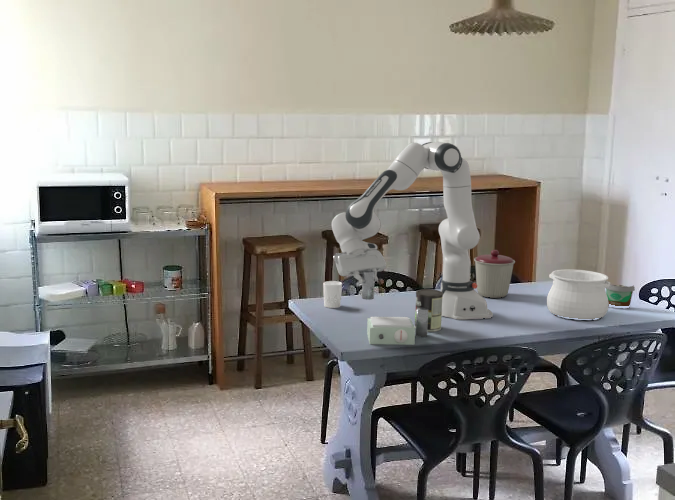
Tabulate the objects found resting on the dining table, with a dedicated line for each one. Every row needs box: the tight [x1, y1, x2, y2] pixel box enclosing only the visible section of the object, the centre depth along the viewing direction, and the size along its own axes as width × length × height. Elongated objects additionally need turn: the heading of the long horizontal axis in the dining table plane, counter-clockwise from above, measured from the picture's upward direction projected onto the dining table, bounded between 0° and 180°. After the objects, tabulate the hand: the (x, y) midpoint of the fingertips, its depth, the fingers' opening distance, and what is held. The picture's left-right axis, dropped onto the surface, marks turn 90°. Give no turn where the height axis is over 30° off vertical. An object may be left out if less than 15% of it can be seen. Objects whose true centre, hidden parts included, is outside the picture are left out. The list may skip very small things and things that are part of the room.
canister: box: [473, 249, 516, 299], centre depth 350 cm, size 18×18×21 cm
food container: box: [605, 284, 636, 306], centre depth 334 cm, size 12×6×10 cm, turn 68°
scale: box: [366, 316, 416, 346], centre depth 282 cm, size 16×14×7 cm
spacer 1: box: [361, 271, 375, 301], centre depth 289 cm, size 4×4×10 cm
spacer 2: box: [415, 308, 428, 338], centre depth 288 cm, size 4×4×10 cm
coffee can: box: [414, 288, 443, 333], centre depth 298 cm, size 10×10×14 cm
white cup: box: [322, 280, 343, 309], centre depth 327 cm, size 8×8×10 cm
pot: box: [546, 269, 611, 319], centre depth 321 cm, size 26×24×17 cm
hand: (369, 281), depth 288 cm, fingers closed on spacer 1, 4 cm apart
